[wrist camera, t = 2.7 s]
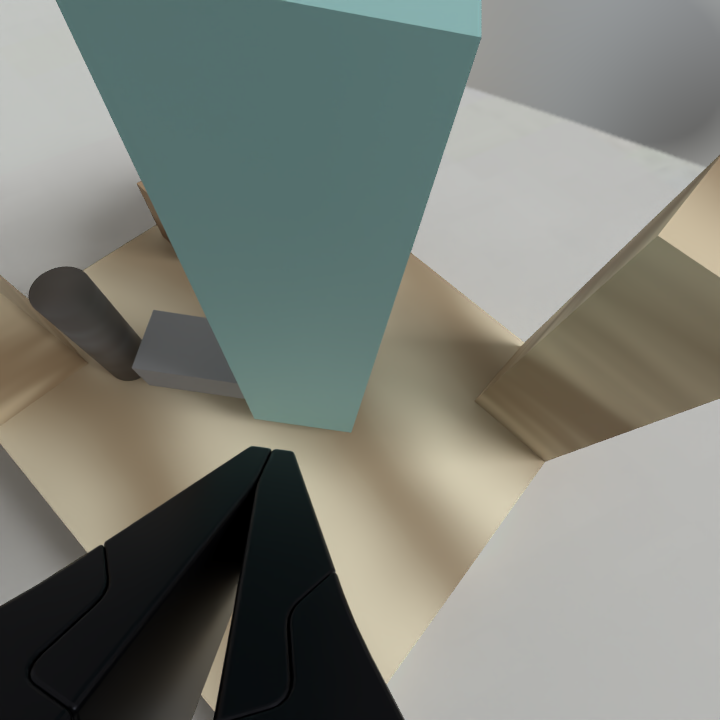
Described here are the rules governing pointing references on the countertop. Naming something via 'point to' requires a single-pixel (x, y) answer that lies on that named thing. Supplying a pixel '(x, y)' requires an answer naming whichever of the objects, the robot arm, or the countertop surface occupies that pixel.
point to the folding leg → (281, 177)
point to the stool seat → (365, 406)
